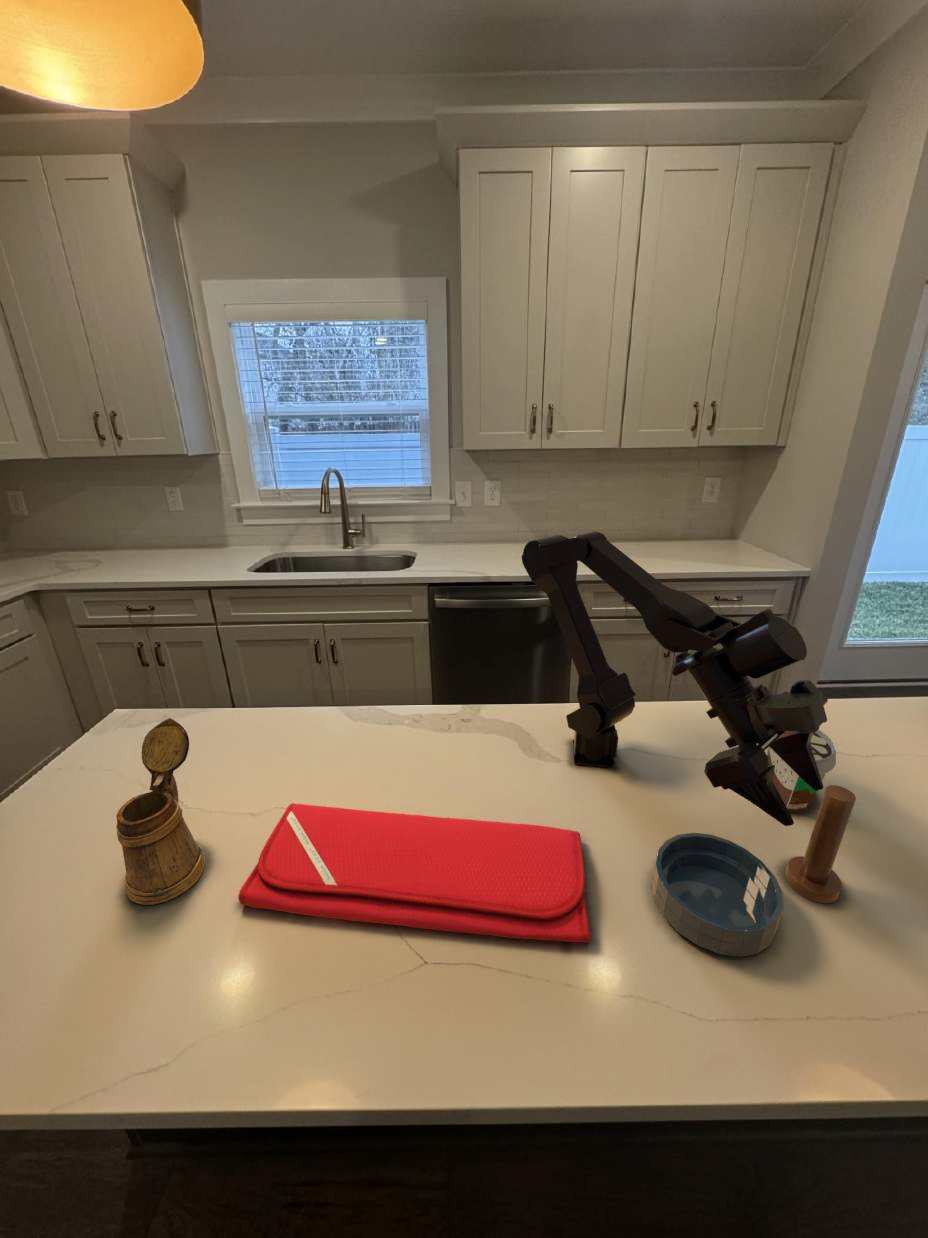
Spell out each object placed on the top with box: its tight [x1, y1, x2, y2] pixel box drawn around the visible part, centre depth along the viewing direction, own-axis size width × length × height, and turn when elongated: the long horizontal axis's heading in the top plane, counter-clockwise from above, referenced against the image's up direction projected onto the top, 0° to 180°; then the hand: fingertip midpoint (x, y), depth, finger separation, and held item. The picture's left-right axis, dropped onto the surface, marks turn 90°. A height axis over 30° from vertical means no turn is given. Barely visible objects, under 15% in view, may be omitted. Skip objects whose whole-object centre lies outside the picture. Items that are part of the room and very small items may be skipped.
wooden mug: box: [115, 717, 206, 906], centre depth 64 cm, size 9×14×18 cm, turn 1°
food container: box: [766, 728, 837, 814], centre depth 75 cm, size 12×6×10 cm, turn 168°
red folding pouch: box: [238, 802, 591, 944], centre depth 64 cm, size 16×41×4 cm, turn 83°
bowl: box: [651, 832, 784, 958], centre depth 59 cm, size 13×13×4 cm
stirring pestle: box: [784, 784, 857, 904], centre depth 60 cm, size 6×6×14 cm
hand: (805, 806), depth 61 cm, fingers open, 9 cm apart
